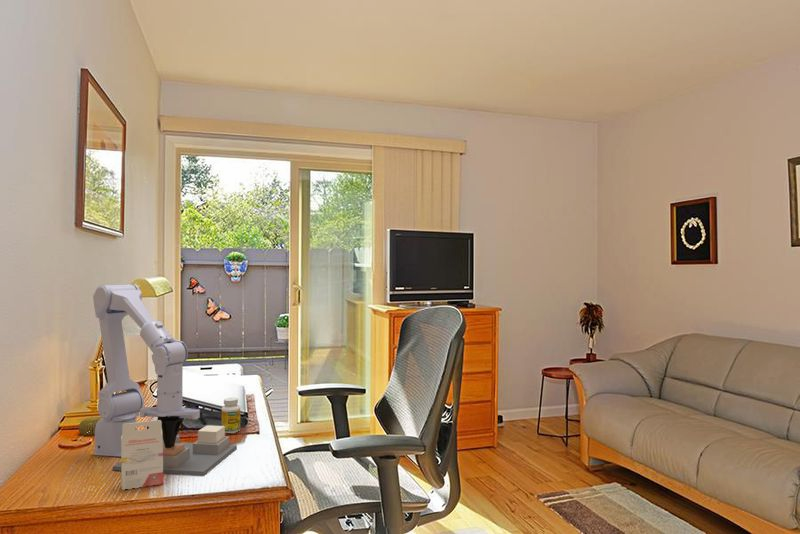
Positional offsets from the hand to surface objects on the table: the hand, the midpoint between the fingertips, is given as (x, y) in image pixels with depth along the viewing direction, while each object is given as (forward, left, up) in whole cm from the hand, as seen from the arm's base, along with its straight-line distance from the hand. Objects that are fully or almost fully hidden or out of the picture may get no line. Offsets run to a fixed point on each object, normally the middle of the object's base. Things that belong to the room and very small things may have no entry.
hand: (169, 446), depth 138 cm
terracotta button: (0, 0, -3) cm, 3 cm away
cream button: (+6, +10, -2) cm, 12 cm away
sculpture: (-36, +22, -5) cm, 42 cm away
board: (-1, +5, -5) cm, 7 cm away
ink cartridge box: (-1, -11, -5) cm, 12 cm away
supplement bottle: (+3, +29, -5) cm, 30 cm away
